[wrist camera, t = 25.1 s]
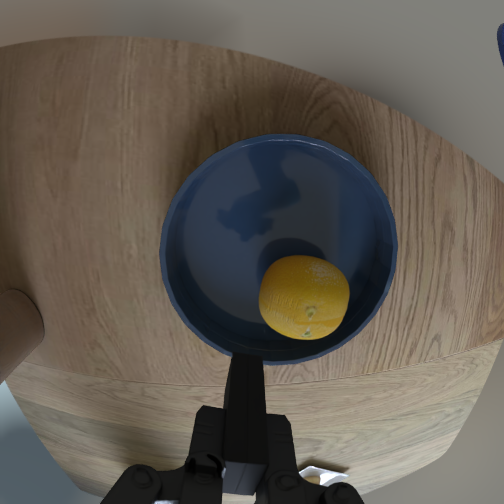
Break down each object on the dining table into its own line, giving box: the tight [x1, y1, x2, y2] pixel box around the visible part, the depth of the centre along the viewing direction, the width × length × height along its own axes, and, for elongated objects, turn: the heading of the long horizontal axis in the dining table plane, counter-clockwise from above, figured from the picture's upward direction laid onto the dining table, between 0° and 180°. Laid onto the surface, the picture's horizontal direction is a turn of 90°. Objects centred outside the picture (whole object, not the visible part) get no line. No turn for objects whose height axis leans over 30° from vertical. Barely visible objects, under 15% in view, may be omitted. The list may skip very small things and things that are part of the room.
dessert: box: [299, 466, 350, 486], centre depth 42 cm, size 12×12×5 cm
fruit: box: [259, 255, 350, 340], centre depth 28 cm, size 9×8×8 cm
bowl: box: [159, 134, 398, 366], centre depth 29 cm, size 23×23×5 cm
